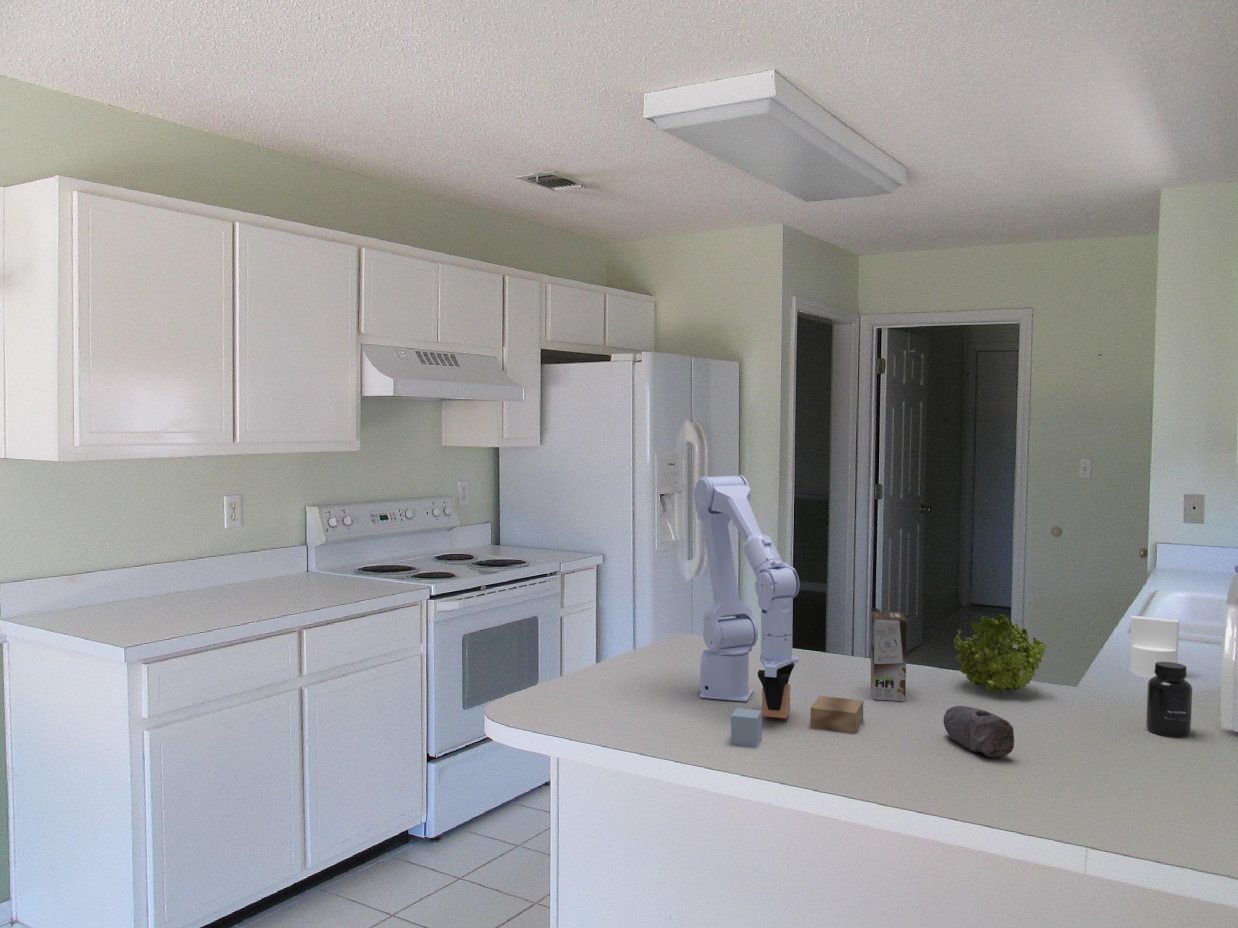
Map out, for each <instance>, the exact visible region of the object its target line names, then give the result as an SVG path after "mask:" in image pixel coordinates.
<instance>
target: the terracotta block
mask: <svg viewBox="0 0 1238 928" xmlns="http://www.w3.org/2000/svg"><path fill="white" fill-rule="evenodd" d="M761 710H762V717H768V718H769V717H770V718H781V719H788V717H789V715H790V712H791V684H789V683H788V684H785V687H784V691H783V698H782V704H781V708H780V710H779V711H776V710H768V707H767V702H766V697H765V692H764V689H763V688H762V689H761Z"/></svg>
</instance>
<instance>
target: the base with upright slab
mask: <svg viewBox="0 0 1238 928" xmlns="http://www.w3.org/2000/svg"><path fill="white" fill-rule="evenodd" d="M1179 629H1180V621H1179V619H1173V618H1164V617H1163V618H1162V617H1155V616H1154V617H1153V616H1143V615H1142V616H1140V615H1131V616H1130V645H1129V647H1130V653H1129V654H1130V656H1129V657H1130V658H1129V673H1131V674H1132V675H1134V676H1136V677H1137V676H1138V677H1142V678H1146V679H1151V678H1152V677H1155V676H1156V674H1155V673H1154V670H1155V663H1156V662H1173V663H1179V639H1180V638H1179V637H1180V636H1179V635H1180V634H1179V631H1180V630H1179Z"/></svg>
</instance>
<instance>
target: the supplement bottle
mask: <svg viewBox="0 0 1238 928" xmlns="http://www.w3.org/2000/svg"><path fill="white" fill-rule="evenodd" d="M1154 673H1155V674H1156V676H1155V677H1152V678H1149V680H1148V682H1147V695H1146V696H1147V697H1146V698H1147V699H1146V716H1145V717H1146V719H1145V720H1146V721H1145V722H1146V723H1145V724H1146V729H1147V730H1148V731H1149V732H1151V733H1153V734H1156V735H1159V736H1164V737H1168V738H1185V737H1188V736H1190V734H1191V729H1192V728H1191V727H1192V710H1193V709H1192V705H1193V687H1192V685H1191V683H1190V682H1189V681H1187V680H1186V678H1187V677H1188V676H1187V665H1184V664H1182V663H1179V662H1178V663H1173V662H1156V663H1155V670H1154Z"/></svg>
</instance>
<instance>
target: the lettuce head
mask: <svg viewBox="0 0 1238 928" xmlns="http://www.w3.org/2000/svg"><path fill="white" fill-rule="evenodd" d="M970 626H971V627H972V630H973V632H974V634H973V635H972V638H971V637H969V636H966V637H965V638H964V640H962V638H961V634H962V630H963V629H962V628H961V629H957V632H958V633H957V634H955V638H954V639H953V642H954V648H955V649H956V651H958V652H959V654H957V656H956V657H955V659H956V660H957V661H958V663H960V664H961V667H960V668H959V671H960V672H961V673H962V674H963V675H966V676H965V677H966V679H967V680H968V681H969V682H971V684H972V686H973V685H974V686H976V687H977V686H980V687H981V685H982V687H984V686H985V689H986V691H987V692H989V693H993V694H995V693H1002V692H1004V691H1008V692H1013V691H1014V692H1015V691H1017V690H1019V689H1025V690H1026V686H1027V685H1028V684H1029V685H1030V683H1031V682H1032V681H1033V679H1032V678H1033V677H1036V673H1035V672H1036V670H1039V669H1040V665H1039V663H1042V662H1043V659H1042V658H1044V655H1045V652H1046V650H1047V644H1046V643H1044V642H1040V640H1038V639H1036V637H1035V636H1034V637H1032V640H1033V642H1031V643H1029V642H1030V640H1029V639H1030V637H1029V633H1028V631H1027V629H1026V628H1022V629H1021V627H1020V626H1019V624H1017V623H1015V624H1014V623H1013V622H1012V621H1011V620H1009V619H1008V618H1007V617H1006V616H1005V615H1004V614H1001V613H998V616H997V617H996V619H994V618H993V617H992V618H990V617H988V616H986V615H982V616H981V622H974V621H972V622H971V623H970ZM975 633H976V634H975ZM980 637H981V638H980ZM979 639H980V640H979ZM998 643H1000V644H998ZM996 645H998V647H996ZM1014 645H1016V646H1017V648H1015V647H1014ZM1030 681H1031V682H1030Z"/></svg>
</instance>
